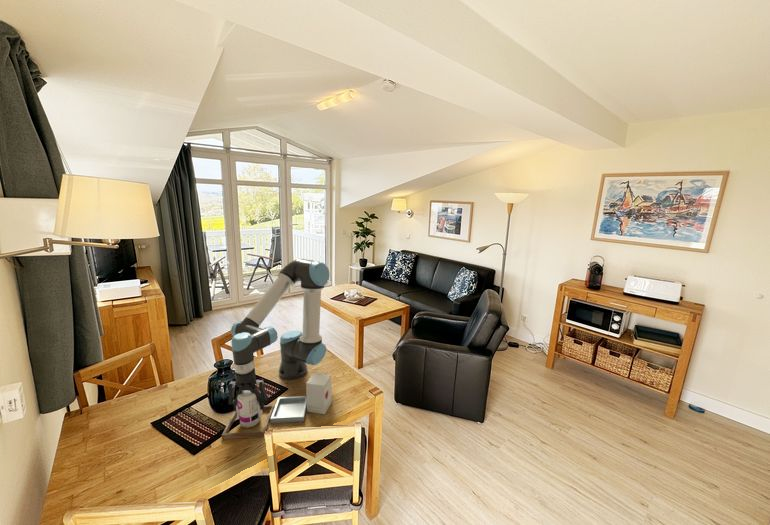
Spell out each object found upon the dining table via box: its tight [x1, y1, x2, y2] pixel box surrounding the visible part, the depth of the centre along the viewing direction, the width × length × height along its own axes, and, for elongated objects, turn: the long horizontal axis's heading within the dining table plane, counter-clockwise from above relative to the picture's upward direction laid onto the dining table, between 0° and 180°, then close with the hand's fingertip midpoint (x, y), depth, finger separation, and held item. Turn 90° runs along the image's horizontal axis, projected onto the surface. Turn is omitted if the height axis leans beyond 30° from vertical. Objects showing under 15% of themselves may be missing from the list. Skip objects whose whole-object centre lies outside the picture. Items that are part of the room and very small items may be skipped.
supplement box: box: [305, 372, 333, 415], centre depth 141 cm, size 9×9×15 cm
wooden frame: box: [221, 404, 275, 440], centre depth 132 cm, size 17×17×2 cm
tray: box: [270, 395, 307, 424], centre depth 139 cm, size 14×14×2 cm
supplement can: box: [237, 390, 262, 429], centre depth 131 cm, size 8×8×15 cm
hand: (250, 416), depth 132 cm, fingers closed on supplement can, 8 cm apart
